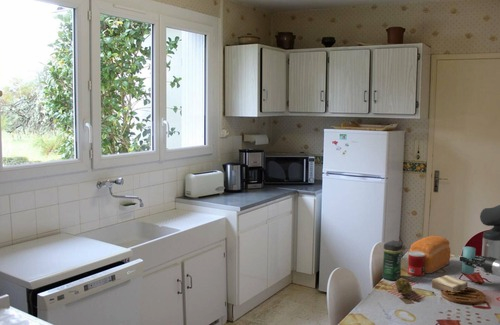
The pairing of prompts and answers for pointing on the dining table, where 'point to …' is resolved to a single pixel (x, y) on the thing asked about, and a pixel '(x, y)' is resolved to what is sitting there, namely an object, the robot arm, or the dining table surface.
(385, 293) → the dining table surface
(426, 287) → the dining table surface
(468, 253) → the pillar
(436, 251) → the bread
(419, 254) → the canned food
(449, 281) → the plinth
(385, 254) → the coffee jar
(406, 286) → the potato
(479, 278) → the dining table surface
